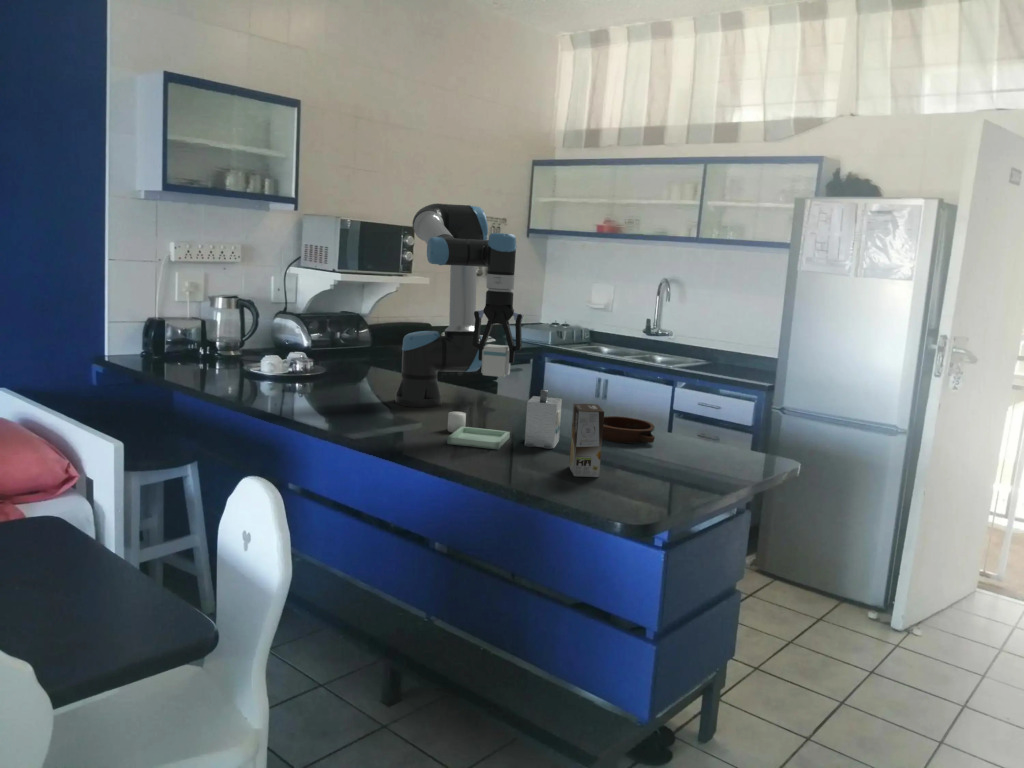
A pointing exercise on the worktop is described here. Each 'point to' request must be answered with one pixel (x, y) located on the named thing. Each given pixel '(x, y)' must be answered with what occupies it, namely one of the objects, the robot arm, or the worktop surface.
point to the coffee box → (586, 440)
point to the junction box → (543, 421)
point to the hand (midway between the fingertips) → (495, 373)
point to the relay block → (495, 360)
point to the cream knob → (456, 420)
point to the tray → (478, 437)
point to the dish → (627, 430)
